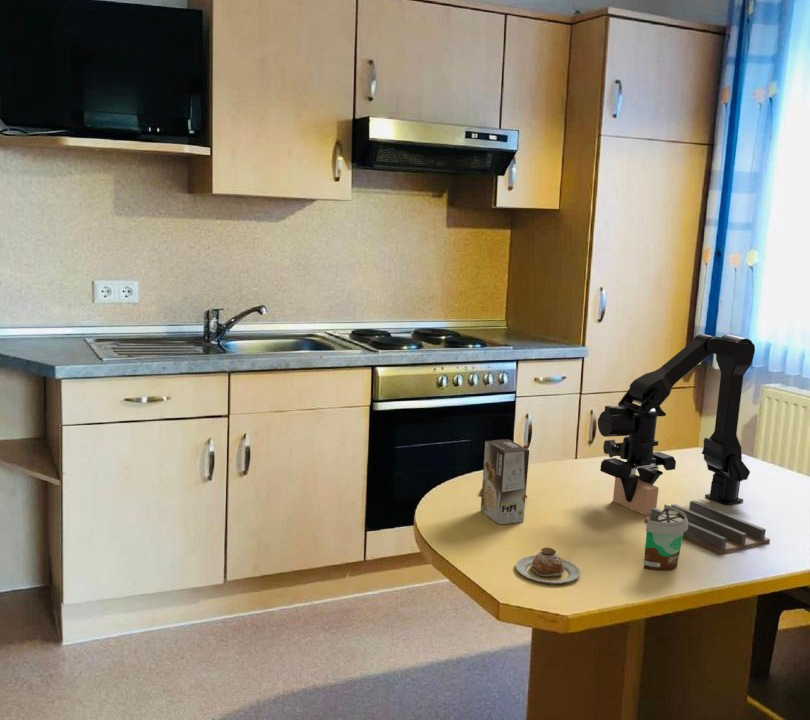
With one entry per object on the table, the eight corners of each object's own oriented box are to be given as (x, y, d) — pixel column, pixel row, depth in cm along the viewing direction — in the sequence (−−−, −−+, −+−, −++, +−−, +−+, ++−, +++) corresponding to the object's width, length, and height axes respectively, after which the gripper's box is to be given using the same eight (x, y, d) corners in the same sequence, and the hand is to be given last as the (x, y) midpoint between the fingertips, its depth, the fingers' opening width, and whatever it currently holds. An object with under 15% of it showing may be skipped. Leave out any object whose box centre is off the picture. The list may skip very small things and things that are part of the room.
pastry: (572, 562, 170) (574, 539, 169) (586, 589, 158) (588, 565, 157) (510, 559, 170) (512, 537, 169) (520, 586, 158) (522, 562, 157)
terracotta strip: (623, 498, 208) (626, 474, 207) (655, 512, 200) (658, 487, 199) (612, 500, 206) (615, 476, 205) (644, 514, 198) (647, 489, 197)
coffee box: (525, 522, 189) (531, 450, 186) (498, 525, 186) (504, 452, 183) (503, 508, 197) (509, 438, 194) (478, 510, 194) (484, 440, 192)
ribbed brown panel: (694, 511, 202) (695, 499, 201) (769, 542, 185) (771, 529, 185) (644, 521, 194) (646, 508, 193) (718, 554, 177) (720, 540, 176)
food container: (673, 579, 164) (679, 528, 162) (641, 570, 167) (646, 520, 165) (690, 559, 174) (696, 510, 172) (659, 551, 177) (665, 503, 175)
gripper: (644, 422, 211) (637, 484, 214) (586, 429, 202) (580, 494, 204) (680, 434, 202) (673, 499, 205) (622, 442, 192) (614, 510, 195)
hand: (634, 500), depth 203 cm, fingers closed on terracotta strip, 3 cm apart
